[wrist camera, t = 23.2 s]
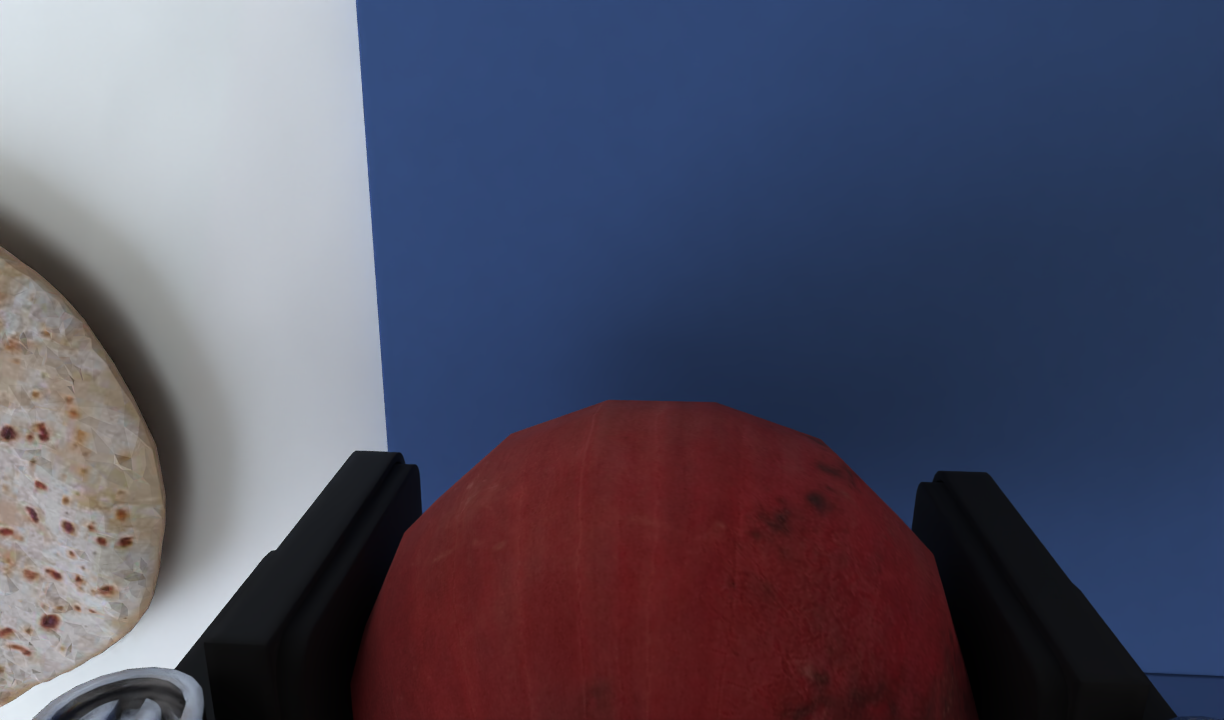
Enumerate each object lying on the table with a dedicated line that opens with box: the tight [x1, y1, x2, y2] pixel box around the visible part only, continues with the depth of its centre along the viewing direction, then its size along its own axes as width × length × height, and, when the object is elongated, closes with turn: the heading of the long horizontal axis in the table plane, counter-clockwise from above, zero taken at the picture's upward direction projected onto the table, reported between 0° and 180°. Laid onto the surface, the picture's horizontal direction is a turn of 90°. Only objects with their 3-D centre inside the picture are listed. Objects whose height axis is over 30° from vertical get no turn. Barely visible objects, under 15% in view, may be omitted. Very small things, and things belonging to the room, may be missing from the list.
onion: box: [350, 400, 979, 720], centre depth 9 cm, size 6×6×8 cm
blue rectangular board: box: [356, 0, 1224, 719], centre depth 12 cm, size 20×16×1 cm
